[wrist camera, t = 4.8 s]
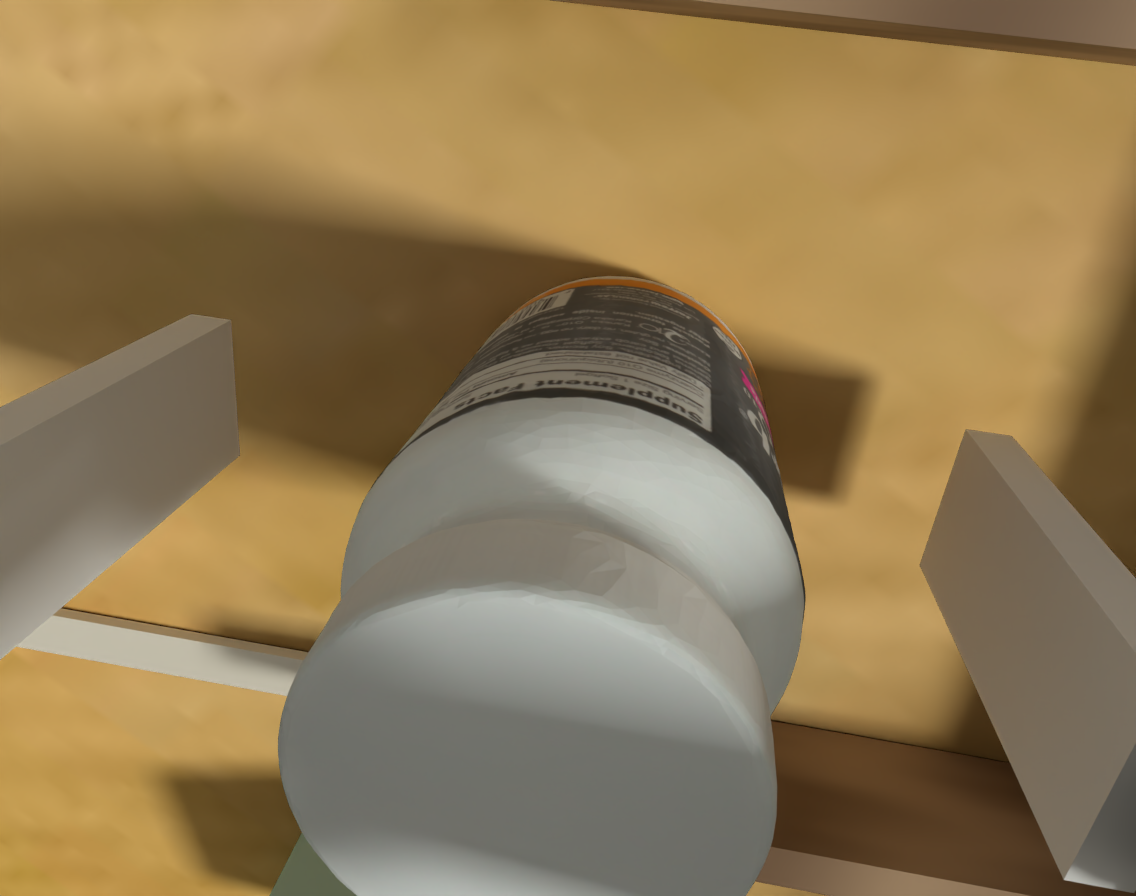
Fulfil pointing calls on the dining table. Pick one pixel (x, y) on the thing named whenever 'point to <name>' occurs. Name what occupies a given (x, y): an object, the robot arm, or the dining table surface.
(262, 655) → the strip
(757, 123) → the dining table surface
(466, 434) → the pill bottle
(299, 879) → the teal block
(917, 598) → the dining table surface
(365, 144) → the dining table surface
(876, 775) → the cubby
